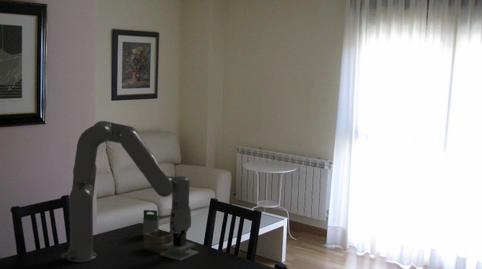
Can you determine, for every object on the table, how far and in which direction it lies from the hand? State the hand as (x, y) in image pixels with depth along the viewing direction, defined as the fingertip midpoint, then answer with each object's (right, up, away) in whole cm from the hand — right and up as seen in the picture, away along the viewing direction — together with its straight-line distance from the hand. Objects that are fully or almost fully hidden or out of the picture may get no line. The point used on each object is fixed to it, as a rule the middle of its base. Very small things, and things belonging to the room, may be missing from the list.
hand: (179, 244), depth 248 cm
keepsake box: (-10, -3, +7) cm, 13 cm away
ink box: (-17, -1, +26) cm, 31 cm away
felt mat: (0, -5, +1) cm, 5 cm away
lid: (0, -1, 0) cm, 1 cm away
